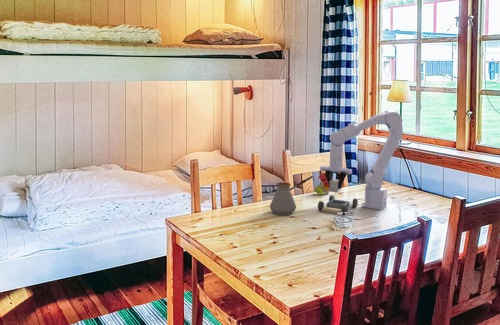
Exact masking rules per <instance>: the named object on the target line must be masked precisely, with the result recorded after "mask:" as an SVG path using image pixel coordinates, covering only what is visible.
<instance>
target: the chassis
mask: <svg viewBox="0 0 500 325" xmlns="http://www.w3.org/2000/svg"><path fill="white" fill-rule="evenodd" d="M358 203H359V200H358V198H355V197H354V198H352V202H351V203H350V201H349V200H348V201H347V200H342V199H336V198H335V195H333V194H331V195H330V196H329V197H328V201H327V202H326V206H325V203H324V201H321V200H319V201H318V203H317V210H318V211H319V212H320V213H326V214H331V215H337V213H340V212H347V213H348V212H349V211H350V210H352V209H353V208H357V207H358Z"/></svg>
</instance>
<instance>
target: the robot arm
mask: <svg viewBox="0 0 500 325" xmlns="http://www.w3.org/2000/svg"><path fill="white" fill-rule="evenodd" d="M403 122H404V121H403V119H402V116H401V115H400V113H399V112H397V111H393V110H391V109H387V110H385V111H383V112H382V111H381V112H379V113H377V114H375V115H373V116H371V117H369V118H367V119H365V120H363V121H362V122H360V123H358V124H356V123H347V125H346V126H345V127H343V128H339V129H337V131H333V132H332V133H331V134H330V136H329V138H328V139H329V141H330V148H329V166H325V165H321V166H320V167H319V171H320V172H323V173H324V174H325V176H326V178H327V181H328V185H329V187H330V180H332V179H334V178H333V176H334V173H336V174H337V177H338V179H337V180H339V185H338V188H339V189H341V190H342V187H343V183H344V182H345V179H346V177H347V175H351V174H353V169H352V168H345V167H343V160H344V159H343V157H344V143H345V142H348V141H350V140H351V139H353V138H356V137H358V136H360V133H361V132H362V131H364V130H366V129H369V128H371V127H373V126H376V125H385V126H386V127H387V129H388V131H389V134H388V137H387V139H386V141H385V143H384V144H383V147H382V149H381V151H380V153H379V155H378V156H377V158H376V161H375V163H374V164H373V166H372V167H371V169H370V170H369V171H367V173H366V174H365V176H364V180H365V182H366V184H365V186H364V189H365V190H364V203H363V204H362V205H361V208H369V209H376V210H384V209H385V208H386V207H387V199H388V198H387V197H388V191H387V189H386V188H383V187H382V186H383V184H384V177H385V173H386V169H387V167H388V164H389V163H390V160H391V159H392V156H393V155H394V153H395V151H396V148H397V147H398V145H399V143H400V141H401V139H402V137H403V134H404V132H403V130H404V129H403Z"/></svg>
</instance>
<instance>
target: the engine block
mask: <svg viewBox="0 0 500 325" xmlns="http://www.w3.org/2000/svg"><path fill="white" fill-rule="evenodd" d="M338 185H339V179H335V178H332V180H330V187H329V193H340V192H341V191H342V188H341V189H339V188H338Z"/></svg>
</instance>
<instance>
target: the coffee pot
mask: <svg viewBox="0 0 500 325" xmlns="http://www.w3.org/2000/svg"><path fill="white" fill-rule="evenodd" d="M310 179H312V181H315V180H316V179H315V177H314V175H311V176H309V177H307V178H306V179H303V180H301V181H300V182H298V183H297V184H296V185H294V186H291V185H292V184H291V183H290V182H284V181H283V182H277V183H275V185H276V191H275V192H274V195H273V198H272V200H271V202H270V205H269V208H270V210H271V211H272V213H273V214H275V215H277V216H288V215H289V216H290V215H292V213H293V212H295V211H296V209H297V205H296V203H295V200H294V198H293V195H292V192H291V191H292V190H294V189H296V188H297V187H299V186H301V185H303V184H304V183H306V182H307V181H310Z"/></svg>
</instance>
